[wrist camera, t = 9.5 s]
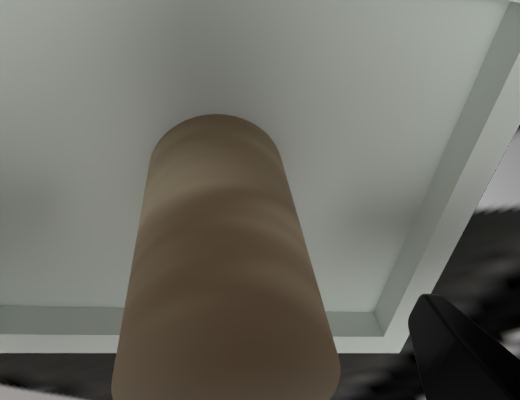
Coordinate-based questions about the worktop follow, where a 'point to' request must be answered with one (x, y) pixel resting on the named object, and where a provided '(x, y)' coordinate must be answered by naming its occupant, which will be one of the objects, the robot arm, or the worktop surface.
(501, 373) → the robot arm
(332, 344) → the dowel
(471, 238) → the worktop surface
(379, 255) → the tray
